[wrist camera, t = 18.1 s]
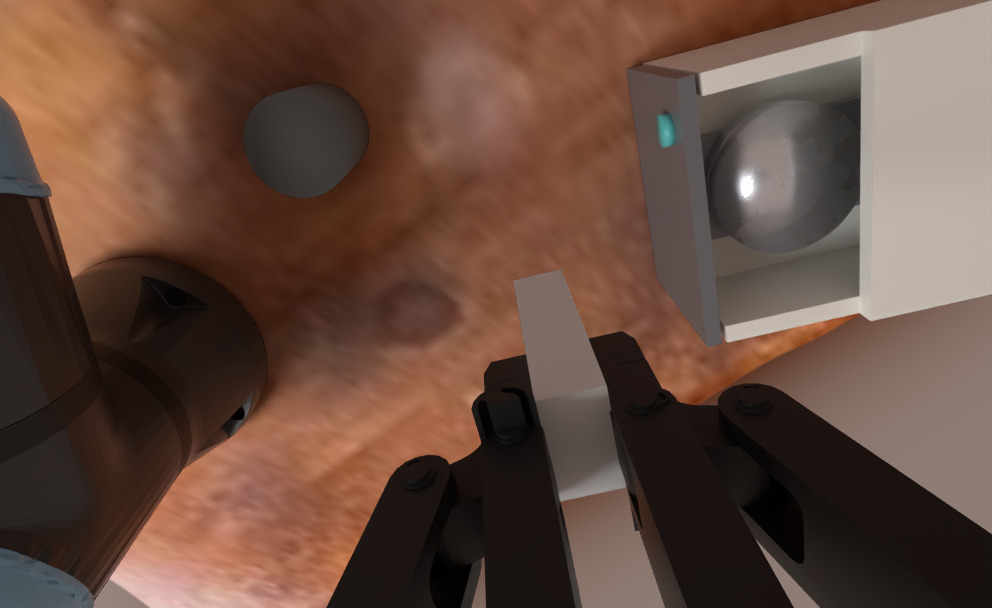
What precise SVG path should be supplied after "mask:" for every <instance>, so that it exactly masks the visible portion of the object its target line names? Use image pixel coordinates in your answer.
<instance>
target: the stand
mask: <svg viewBox="0 0 992 608" xmlns="http://www.w3.org/2000/svg"><path fill="white" fill-rule="evenodd" d="M243 142H244V149H245V153H246V156H247V159H248V161H249V163H250V165H251V167H252V169H253V170H254V172H255V173H256V174H257V176H258V177H259V178H260V179H261V180H262V181H263V182H264V183H265V184H267V185H268V186H269V187H270V188H272V189H274V190H275V191H277V192H279V193H281V194H284V195H287V196H290V197H295V198H312V197H317V196H320V195H323V194H325V193H327V192H328V191H330V190H331V189H333V188H334V187H335V186H336V185H337V184H338V183H339V182H340V181H341V180H342V179H343V178H344V177H345V176H346V175H347V174H348V173H349V172H350V171H351V170H352V169H353V168H354V167H355V166H356V165H357V164H358V163H359V161H360V160H361V159H362V157H363V156H364V154H365V152H366V149H367V146H368V142H369V127H368V122H367V119H366V116H365V114H364V112H363V110H362V108H361V107H360V105H359V104H358V102H357V101H356V100H355V99H354V98H353V97H352V96H351V95H350V94H348V93H347V92H346V91H344V90H342V89H340V88H339V87H336V86H333V85H330V84H326V83H312V84H307V85H304V86H300V87H296V88H292V89H289V90H285V91H281V92H277V93H274V94H272V95H269V96H267V97H265V98H264V99H262V100H261V101H260V102H258V103H257V104H256V105H255V106H254V108H253V109H252V110H251V112H250V113H249V115H248V117H247V120H246V123H245V126H244V132H243Z"/></svg>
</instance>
